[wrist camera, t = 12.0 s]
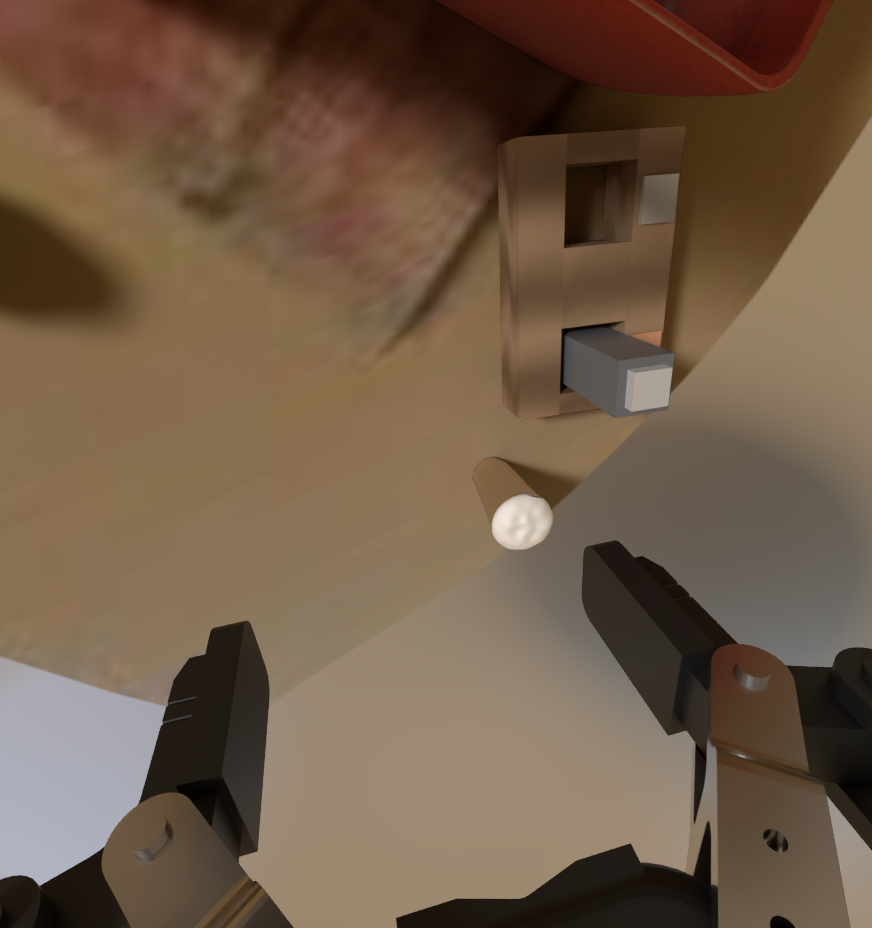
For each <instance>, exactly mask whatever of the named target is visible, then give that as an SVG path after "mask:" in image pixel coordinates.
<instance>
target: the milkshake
mask: <svg viewBox="0 0 872 928" xmlns="http://www.w3.org/2000/svg"><path fill="white" fill-rule="evenodd" d="M472 480H473V482H474V485H475V487H476V490H477V492H478V494H479V497H480V499H481V502H482V504H483V507H484V509H485V512H486V515H487V518H488V520H489V523H490V526H491V529H492V532H493V535H494V537H495V539H496V540H497V541H498V542H499V543H500V544H501V545H503V546H504V547H506V548H509V549H527V548H530V547H532V546H534V545H536V544H538V543H540V542H541V541H542V540H544V539H545V537H546V536H547V535H548V533H549V531H550V529H551V526H552V523H553V513H552V510H551V508H550V506H549V504H548V503H547V502H546V501H545V500H544V499H543V497H541V496H540V495H539V494H538V493H536V492H535V491H534V490H533V489H532V488H531V487H530V486H529V485H528V484H527V483H526V482H525V481H524V480H523V479H522V478H521V477H520V476H519V475H518V474H517V473H516V472H515V471H514V470H513V469H512V468H511V467H510V466H509V465H508V464H507V463H506V462H505V461H503V460H501V459H498V458H496V457H492V458H488V459H484V460H482V461H481V462H480V463H479V464H478V465H477V466H476V467H475V468H474V472H473V478H472Z"/></svg>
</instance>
